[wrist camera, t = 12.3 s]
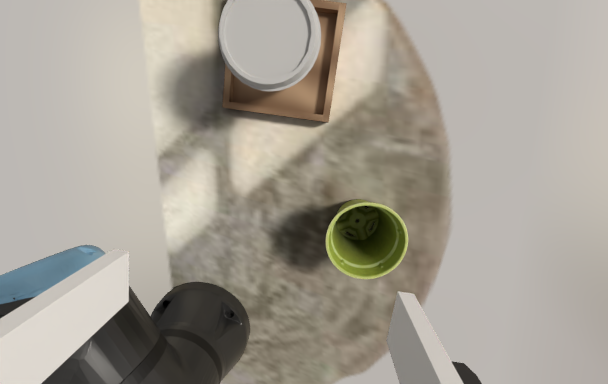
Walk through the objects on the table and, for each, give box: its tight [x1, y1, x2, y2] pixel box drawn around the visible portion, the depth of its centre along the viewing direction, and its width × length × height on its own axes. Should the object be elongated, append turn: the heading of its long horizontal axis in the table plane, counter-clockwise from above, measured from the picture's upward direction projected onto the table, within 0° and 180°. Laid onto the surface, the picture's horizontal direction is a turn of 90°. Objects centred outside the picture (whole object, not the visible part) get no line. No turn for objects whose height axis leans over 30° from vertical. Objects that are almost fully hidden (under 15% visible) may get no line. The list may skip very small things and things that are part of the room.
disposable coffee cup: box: [218, 0, 321, 91], centre depth 33 cm, size 10×10×12 cm
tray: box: [222, 0, 346, 122], centre depth 38 cm, size 14×14×2 cm
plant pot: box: [326, 199, 408, 279], centre depth 39 cm, size 9×9×9 cm
